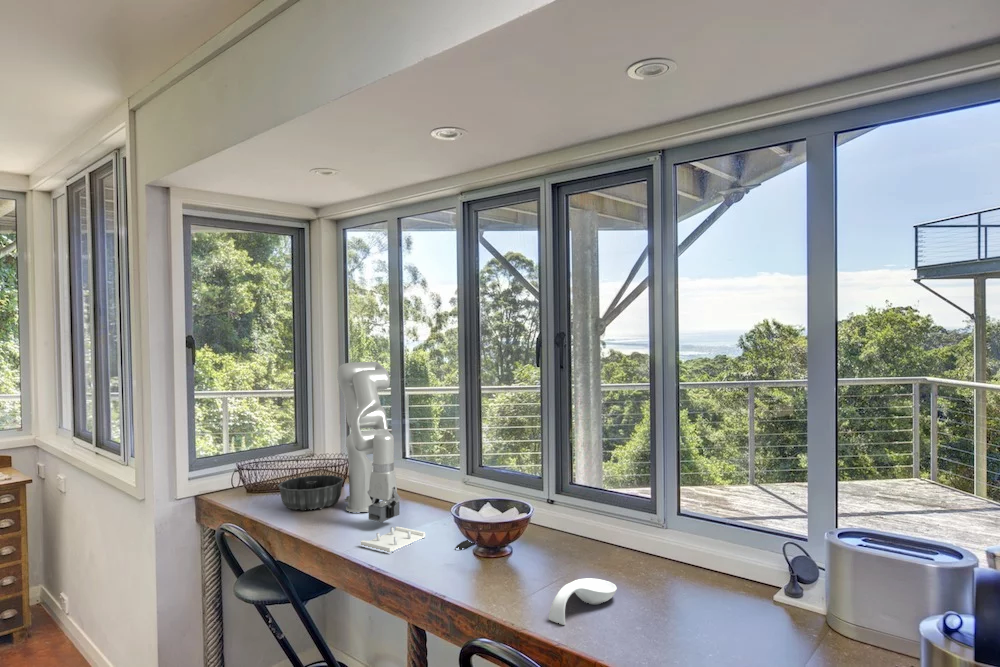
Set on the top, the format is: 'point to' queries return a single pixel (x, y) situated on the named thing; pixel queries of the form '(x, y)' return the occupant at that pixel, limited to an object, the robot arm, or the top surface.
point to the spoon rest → (581, 595)
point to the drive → (381, 511)
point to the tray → (394, 539)
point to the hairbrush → (463, 544)
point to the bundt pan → (311, 491)
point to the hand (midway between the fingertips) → (383, 515)
